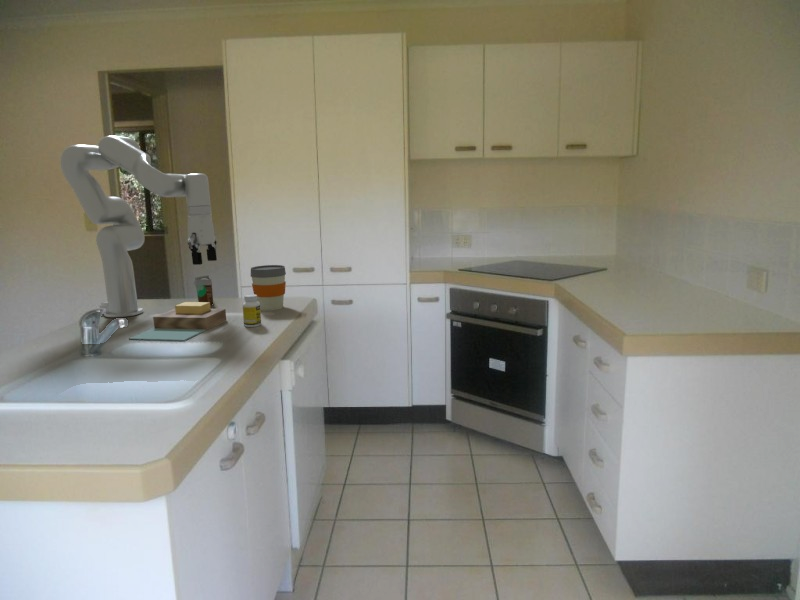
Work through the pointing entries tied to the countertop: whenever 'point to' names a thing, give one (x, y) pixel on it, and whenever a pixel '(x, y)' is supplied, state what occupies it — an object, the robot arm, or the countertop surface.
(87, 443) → the countertop surface
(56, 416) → the countertop surface
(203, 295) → the food container
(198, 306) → the yellow sponge
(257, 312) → the supplement bottle
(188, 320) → the brown wooden block
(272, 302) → the reusable coffee cup
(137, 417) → the countertop surface
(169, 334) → the mat
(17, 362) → the countertop surface
